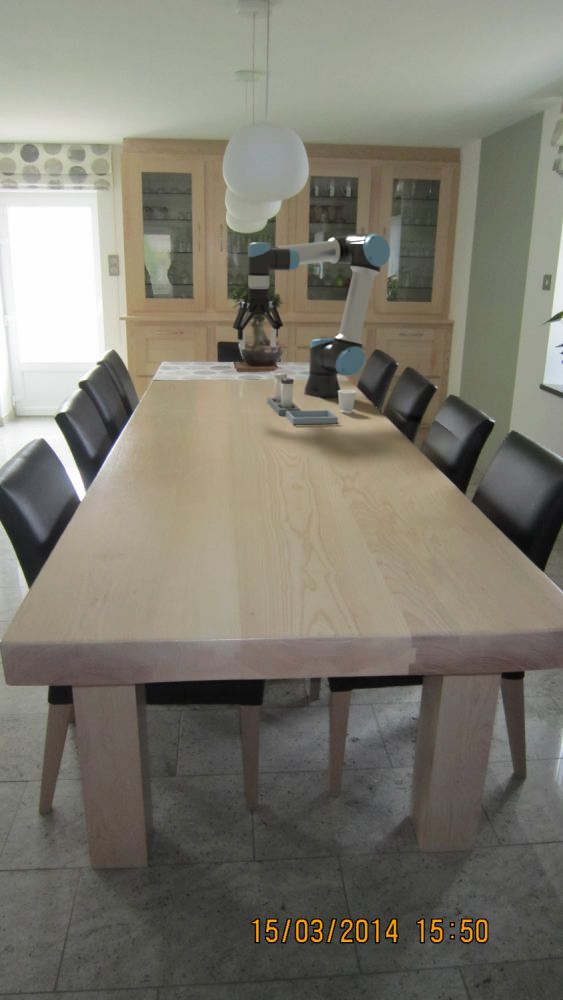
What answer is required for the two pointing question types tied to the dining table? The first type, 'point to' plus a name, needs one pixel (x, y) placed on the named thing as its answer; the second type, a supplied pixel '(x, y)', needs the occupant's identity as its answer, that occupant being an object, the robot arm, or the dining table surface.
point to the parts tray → (311, 417)
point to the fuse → (278, 386)
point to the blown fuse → (287, 393)
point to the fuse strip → (277, 407)
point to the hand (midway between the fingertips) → (258, 347)
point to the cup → (346, 400)
